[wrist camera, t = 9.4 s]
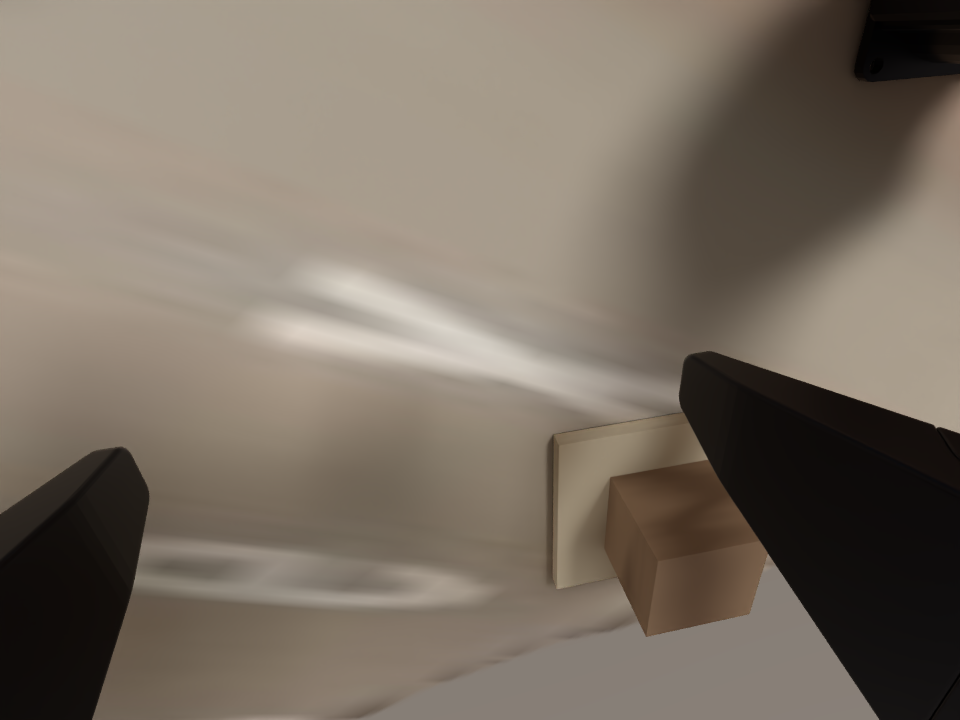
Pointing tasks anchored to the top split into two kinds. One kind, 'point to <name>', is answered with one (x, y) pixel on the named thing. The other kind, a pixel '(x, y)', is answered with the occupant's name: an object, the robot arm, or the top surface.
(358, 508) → the top surface
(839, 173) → the top surface
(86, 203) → the top surface
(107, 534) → the robot arm
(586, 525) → the birch coaster
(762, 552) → the walnut cube
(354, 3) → the top surface
